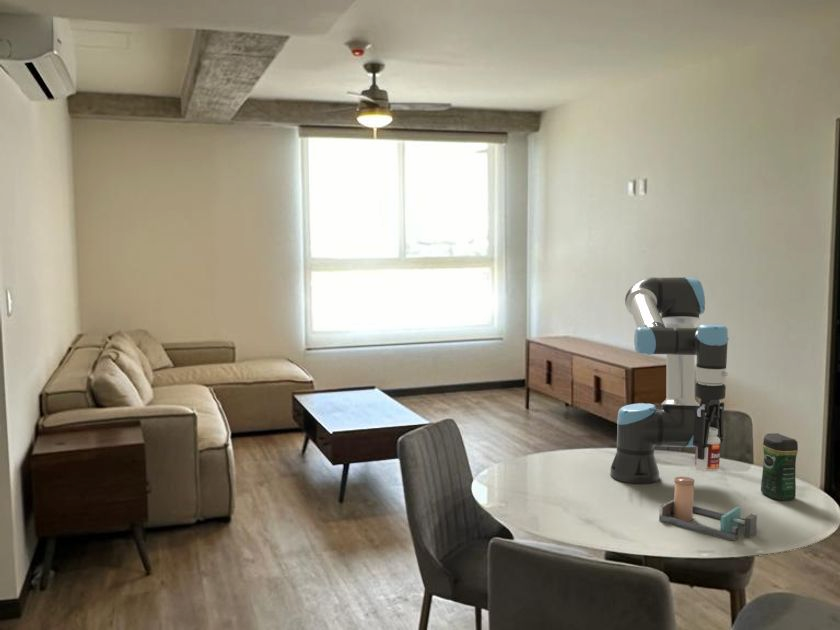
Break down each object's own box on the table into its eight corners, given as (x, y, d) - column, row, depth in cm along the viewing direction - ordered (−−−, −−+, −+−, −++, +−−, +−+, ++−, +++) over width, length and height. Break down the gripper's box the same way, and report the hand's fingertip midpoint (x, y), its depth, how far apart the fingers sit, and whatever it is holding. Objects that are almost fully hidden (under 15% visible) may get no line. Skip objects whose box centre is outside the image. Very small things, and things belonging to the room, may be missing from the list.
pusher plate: (720, 535, 202) (721, 516, 201) (737, 524, 210) (737, 506, 209) (744, 541, 198) (745, 522, 197) (761, 530, 205) (761, 511, 205)
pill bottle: (714, 473, 204) (716, 432, 203) (691, 469, 208) (692, 428, 207) (722, 468, 209) (724, 428, 208) (699, 463, 213) (701, 424, 212)
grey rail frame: (659, 520, 212) (659, 506, 212) (681, 508, 222) (682, 494, 221) (733, 541, 198) (734, 525, 198) (754, 526, 208) (755, 512, 207)
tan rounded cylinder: (669, 517, 214) (671, 479, 213) (678, 512, 218) (679, 475, 217) (687, 522, 211) (689, 483, 210) (696, 517, 215) (697, 479, 213)
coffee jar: (800, 500, 229) (803, 438, 227) (776, 502, 227) (779, 440, 225) (779, 490, 238) (782, 430, 236) (755, 491, 237) (758, 431, 235)
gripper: (709, 390, 197) (705, 478, 199) (739, 380, 211) (735, 463, 213) (680, 386, 202) (677, 472, 204) (712, 376, 216) (708, 457, 218)
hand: (707, 467), depth 209 cm, fingers closed on pill bottle, 6 cm apart
